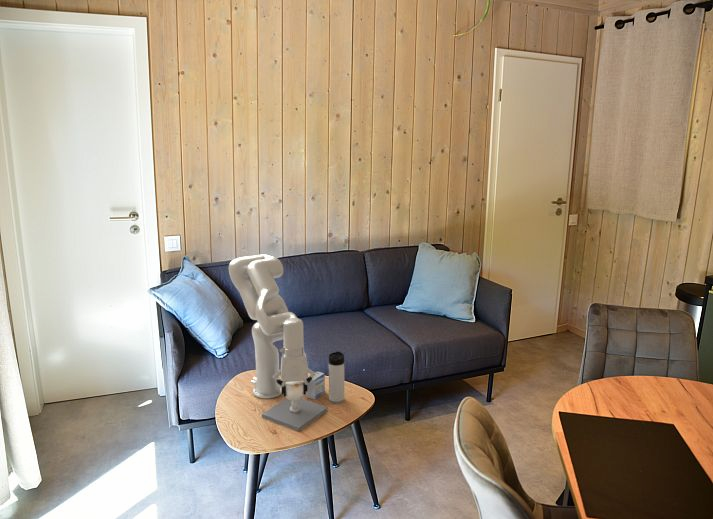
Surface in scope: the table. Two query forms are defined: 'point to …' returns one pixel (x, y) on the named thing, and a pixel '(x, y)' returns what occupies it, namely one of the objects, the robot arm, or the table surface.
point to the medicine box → (316, 386)
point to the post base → (294, 413)
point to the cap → (294, 390)
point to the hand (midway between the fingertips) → (294, 393)
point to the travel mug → (336, 377)
